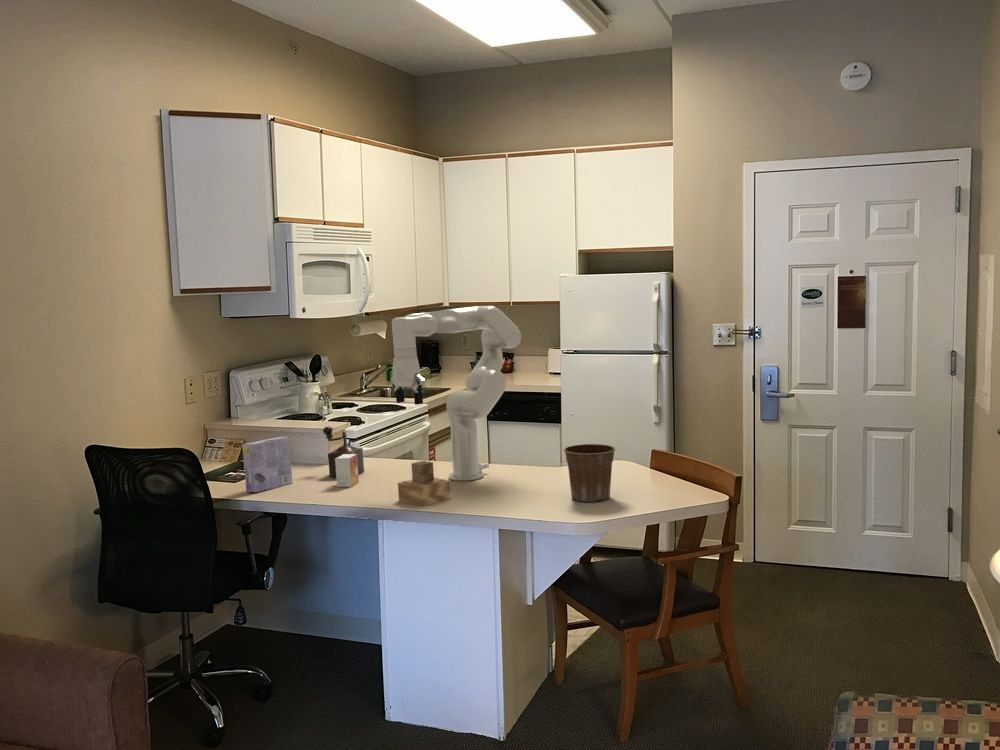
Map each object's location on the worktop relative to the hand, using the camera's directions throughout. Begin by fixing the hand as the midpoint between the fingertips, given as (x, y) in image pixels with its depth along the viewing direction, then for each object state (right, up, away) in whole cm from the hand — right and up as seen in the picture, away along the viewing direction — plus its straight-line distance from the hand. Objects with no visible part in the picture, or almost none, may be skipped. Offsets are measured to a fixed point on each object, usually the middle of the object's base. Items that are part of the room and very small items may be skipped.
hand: (409, 403), depth 311 cm
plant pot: (+60, -30, -20) cm, 70 cm away
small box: (-24, -30, +17) cm, 42 cm away
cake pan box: (-52, -31, +18) cm, 63 cm away
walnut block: (+6, -25, -12) cm, 28 cm away
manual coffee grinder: (-29, -28, +35) cm, 54 cm away
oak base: (+6, -31, -11) cm, 34 cm away
